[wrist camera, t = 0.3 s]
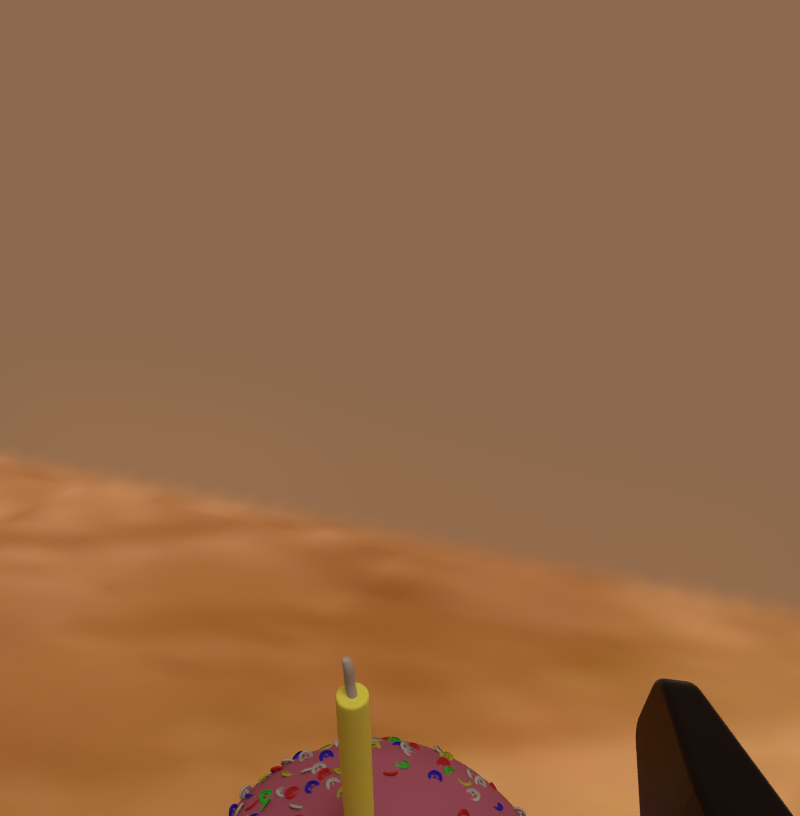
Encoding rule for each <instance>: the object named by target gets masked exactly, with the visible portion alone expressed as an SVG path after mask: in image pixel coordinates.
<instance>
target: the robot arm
mask: <svg viewBox="0 0 800 816" xmlns="http://www.w3.org/2000/svg"><path fill="white" fill-rule="evenodd" d="M636 752H637V769H638V785H639V802H640V816H793V815H792V813H791V812H790V811H789V809H788V808H787V807H786V805H785V804H784V802H783V801H782V800H781V798H780V797H779V796H778V794H777V793H776V792H775V790H774V789H773V788H772V786H771V785H770V784H769V782H768V781H767V779H766V778H765V777H764V775H763V774H762V773H761V771H760V770H759V769H758V767H757V766H756V765H755V763H754V762H753V761H752V759H751V758H750V757H749V755H748V754H747V752H746V751H745V750H744V748H743V747H742V746H741V744H740V743H739V742H738V740H737V739H736V738H735V736H734V735H733V734H732V732H731V731H730V729H729V728H728V727H727V725H726V724H725V723H724V721H723V720H722V719H721V717H720V716H719V715H718V713H717V712H716V711H715V709H714V708H713V707H712V705H711V704H710V702H709V701H708V700H707V698H706V697H705V696H704V694H703V693H702V692H701V690H700V689H699V688H698V687H697V686H696V685H694V684H693V683H690V682H687V681H679V680H672V679H664V678H663V679H659V680H657V681H656V682H655V683H654V685H653V687H652V689H651V691H650V694H649V696H648V698H647V700H646V702H645V705H644V707H643V709H642V711H641V714H640V716H639V718H638V722H637V727H636Z"/></svg>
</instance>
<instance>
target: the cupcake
mask: <svg viewBox="0 0 800 816" xmlns="http://www.w3.org/2000/svg"><path fill="white" fill-rule="evenodd" d="M342 666H343V671H344V682H345V684H344V685H342V686H341V687H340V688H339V689H338V691H337V693H336V713H337V727H338V739H336V740H335V741H334V745H331V744H330V745H327V746H325V747H322V748H321V749H319V750H316V751H314V752H311V751H309V750H305V751H300V752H298V753H297V754H295V756H294V757H293V759H283V760H282V761H281V765H282V766H276V767H273V768H271V770H270V771H271V772H272V773H271V774H265V775H264V776H262V777H261V778H260V780H259V782H258V784H256V785H255V786H254V787H253V788H252V787H251V786H250V785H245V786H244V787H243V788H242V789H241V791H240V798H241V799H242V800H241V801H240V802H239V803H238V804H233V805H231V807H230V809H229V816H520V814H521V815H522V816H526V813H525V811H524V810H523V809H522V808H520V807H513V806H512V805H511V804H510V802H509V801H508V800H507V799H506V798H505V797H504V796H503V795H502V794H501V793H500V792H498V791H497V789H496V787H495V786H494V784H493V783H492V782H491V783H488V782H487V781H486V780H485V779H484V778H483V777H481V776H480V775H479V774H477V773H476V772H475V771H473V770H472V769H470V768H469V767H467V766H466V765H464V764H462V763H461V762H459V761H457V760H455V759H453V755H452V754H451V753H449V752H442V750H441V749H440V748H439V747H438V746H437V745H434V748H435V749H436V750H437V751H436V750H434V749H431V748H428V747H426V746H422V745H419V744H416V743H411V742H406V741H401V740H400V739H399V738H396V737H384V738H381V739H380V738H371V723H370V698H369V692H368V690H367V688H366V687H365V686H364V685H362V684H360V683H357V682H355V673H354V666H353V662H352V660H351V658H350V657H344V658H343V659H342ZM338 742H339V743H338ZM304 754H305V755H304ZM298 755H299V756H298ZM447 755H448V756H447ZM297 756H298V757H297ZM286 761H287V762H286ZM285 763H286V764H285ZM245 789H247V790H246V792H244V790H245ZM248 790H249V791H248ZM247 791H248V793H247ZM243 794H246V795H245V796H244V795H243ZM516 810H517V811H516ZM519 811H521V812H522V813H519Z"/></svg>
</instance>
